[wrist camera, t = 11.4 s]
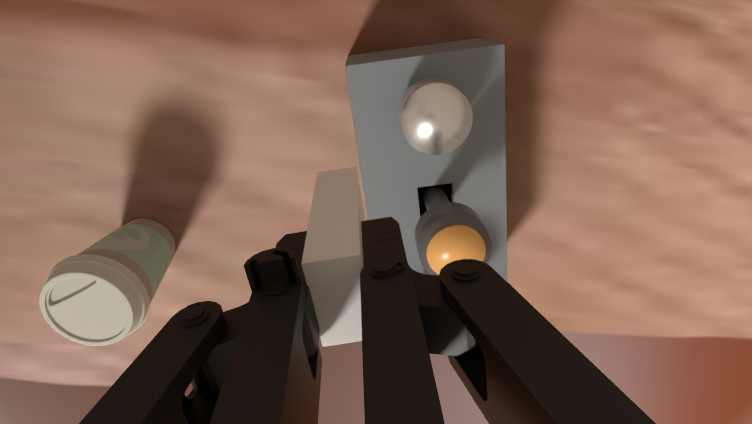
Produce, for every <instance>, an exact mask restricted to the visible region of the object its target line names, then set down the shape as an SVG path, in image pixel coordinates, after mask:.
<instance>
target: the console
mask: <svg viewBox="0 0 752 424" xmlns="http://www.w3.org/2000/svg"><path fill="white" fill-rule="evenodd" d="M345 68H346V74H347V81H348V88H349V94H350V101H351V108H352V115H353V121H354V128H355V135H356V141H357V148H358V155H359V162H360V168H361V175H362V182H363V188H364V195H365V202H366V209H367V215H368V220H373V219H379V218H385V217H392V218H393V219H395V220H396V221H397V222H399V226H400V230H401V235H402V239H403V244H404V248H405V253H406V258H407V262H408V264H409V266H410V267H411V268H412V269H413V270H415V271H417V272H419V273H422V274H424V273H425V272H426V270H425V269H424V267H423V266H422V264H421V262H420V258H419V254H418V250H417V246H416V241H415V229H416V225H417V223H418V221H419V219H420V218H421V216H422V215H423V214H421V215H420V210H419V200H418V189H417V188H418V187H426V186H434V185H441V184H449V183H451V192H452V202H457V203H461V204H464V205H467V206H469V207H470V208H472V209H473V210H474V211H475V212H476V213H477V215H478V216H479V218H480V219H481V221H482V223H483V225H484V227H485V228H486V230H487V232H488V234H489V236H490V239H491V244H492V250H491V255H490V258H489V260H488V262H487V263H486V264H488V265H489V266H491V267H492V268H493V269H494V270H495V271H496V272H497V273H498V274H499V275H500V276H501V277H502V278H503V279H504V280H505V281H507V205H506V113H505V44H502V43H498V42H495V41H491V40H487V39H483V38H480V37H479V38H472V39H464V40H457V41H450V42H443V43H435V44H428V45H421V46H414V47H406V48H399V49H392V50H385V51H377V52H370V53H363V54H355V55H348V57H347V61H346V65H345ZM426 78H439V79H443V80H446V81H448V82H450V83H451V84H452V85H454V86H455V87H456V88H457V89H458V90H459V91H461V92H462V93H463V94H464V95H465V97H466V98H467V99H468V101H469V103H470V105H471V108H472V114H473V122H472V127H471V130H470V132H469V135H468V136H467V138H466V139H465V141H464V142H463V143H462V144H461V145H460V146H459V147H457V148H456V149H454V150H453V151H451V152H449V153H446V154H442V155H428V154H424V153H422V152H419V151H418V150H416V149H415V148H413V147H412V146H411V145H410V144H409V143H408V141H407V140H406V138H405V136H404V133H403V130H402V127H401V125H400V121H399V116H398V109H399V104H400V101H401V98H402V96H403V95H404V93H405V92H406V90H407V89H408V88H409V87H410V86H411V85H413V84H414V83H416V82H418V81H420V80H423V79H426Z"/></svg>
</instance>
